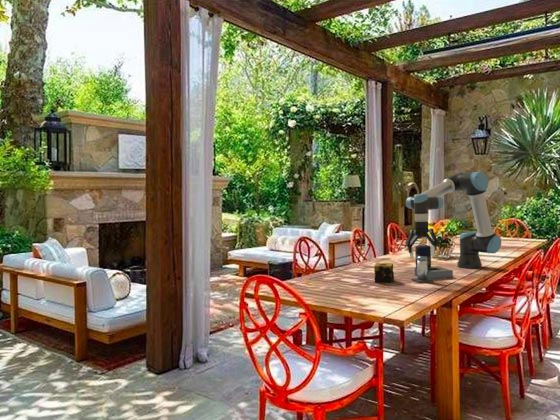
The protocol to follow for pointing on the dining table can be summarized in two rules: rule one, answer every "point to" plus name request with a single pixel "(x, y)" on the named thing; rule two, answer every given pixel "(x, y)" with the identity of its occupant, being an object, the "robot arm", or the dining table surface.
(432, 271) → the housing
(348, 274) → the dining table surface
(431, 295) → the dining table surface
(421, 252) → the canister
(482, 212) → the robot arm
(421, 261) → the silver metal cylinder
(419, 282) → the coaster
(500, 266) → the dining table surface
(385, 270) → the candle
